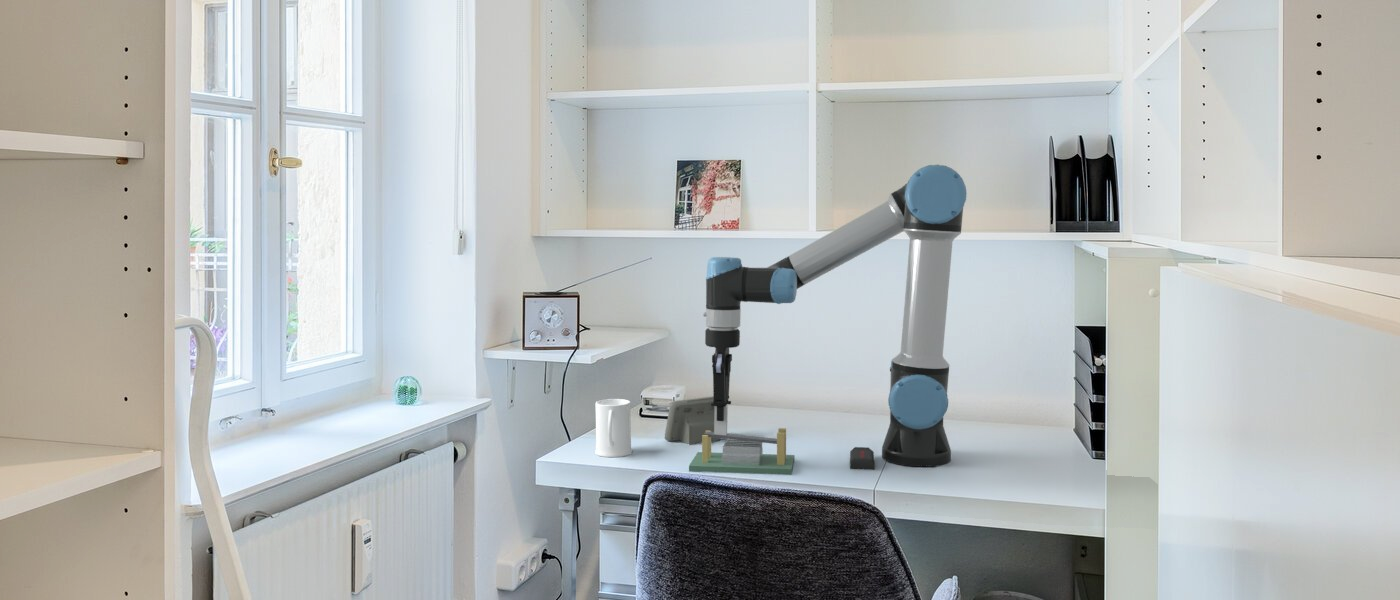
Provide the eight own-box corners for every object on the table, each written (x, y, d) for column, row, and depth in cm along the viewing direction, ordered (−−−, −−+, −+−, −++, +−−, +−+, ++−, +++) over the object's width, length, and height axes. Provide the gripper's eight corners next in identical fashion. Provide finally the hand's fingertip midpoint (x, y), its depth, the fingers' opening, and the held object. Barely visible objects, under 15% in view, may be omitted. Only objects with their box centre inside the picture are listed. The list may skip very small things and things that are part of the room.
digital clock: (722, 433, 239) (721, 391, 238) (734, 441, 230) (734, 398, 230) (660, 438, 234) (659, 396, 233) (670, 446, 226) (669, 402, 225)
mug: (625, 461, 212) (625, 408, 211) (588, 460, 213) (587, 408, 212) (635, 448, 224) (634, 398, 223) (599, 448, 225) (598, 398, 223)
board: (794, 460, 212) (794, 425, 211) (791, 474, 200) (791, 437, 199) (697, 457, 215) (697, 422, 214) (689, 471, 203) (688, 434, 203)
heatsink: (762, 456, 211) (762, 439, 210) (759, 465, 203) (759, 448, 202) (727, 455, 212) (726, 438, 212) (722, 464, 204) (722, 447, 204)
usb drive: (850, 470, 204) (850, 458, 204) (850, 456, 216) (850, 444, 216) (874, 471, 203) (874, 458, 203) (873, 457, 215) (873, 445, 215)
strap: (784, 442, 207) (784, 438, 207) (783, 446, 204) (783, 441, 204) (705, 434, 210) (705, 430, 210) (703, 437, 207) (703, 433, 207)
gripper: (710, 324, 213) (708, 427, 215) (701, 331, 200) (699, 440, 202) (743, 325, 211) (740, 428, 214) (736, 332, 199) (733, 442, 201)
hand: (720, 434), depth 208 cm, fingers closed
